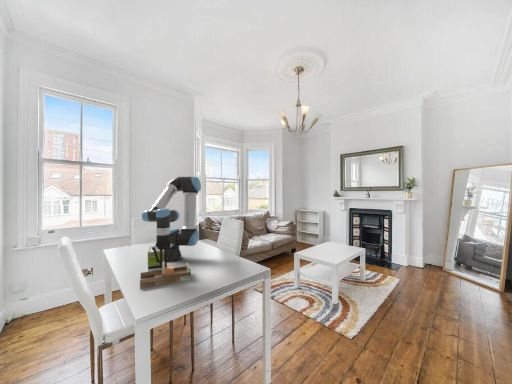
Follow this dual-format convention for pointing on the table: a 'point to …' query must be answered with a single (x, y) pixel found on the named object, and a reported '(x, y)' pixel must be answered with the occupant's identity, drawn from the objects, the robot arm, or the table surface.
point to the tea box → (154, 259)
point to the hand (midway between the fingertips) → (163, 273)
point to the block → (169, 270)
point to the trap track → (158, 278)
